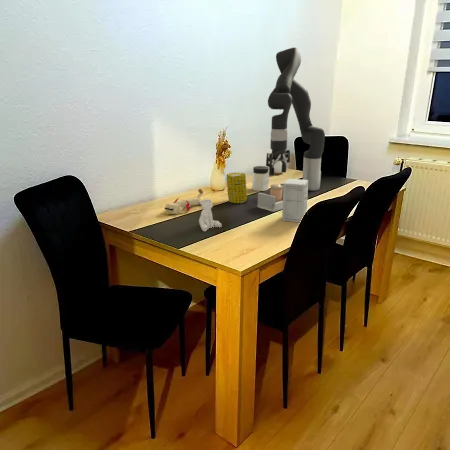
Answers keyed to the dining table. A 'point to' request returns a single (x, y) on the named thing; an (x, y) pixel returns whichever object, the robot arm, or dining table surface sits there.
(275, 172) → the cup
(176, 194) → the dining table surface
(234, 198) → the yellow woven basket
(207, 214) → the seated beast figurine
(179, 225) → the dining table surface
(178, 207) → the cat figure
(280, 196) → the jar small
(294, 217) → the supplement box
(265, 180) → the jar
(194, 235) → the dining table surface
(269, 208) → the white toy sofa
